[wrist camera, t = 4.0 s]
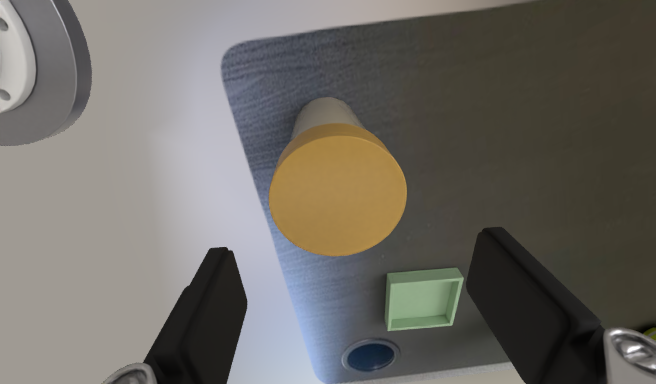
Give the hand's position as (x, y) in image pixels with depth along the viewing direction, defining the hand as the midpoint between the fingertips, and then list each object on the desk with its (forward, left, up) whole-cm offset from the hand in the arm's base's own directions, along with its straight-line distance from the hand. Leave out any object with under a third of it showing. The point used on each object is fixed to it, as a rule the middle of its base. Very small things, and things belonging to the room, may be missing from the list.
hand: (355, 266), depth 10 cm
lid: (0, 0, -5) cm, 5 cm away
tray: (+12, -25, -20) cm, 34 cm away
